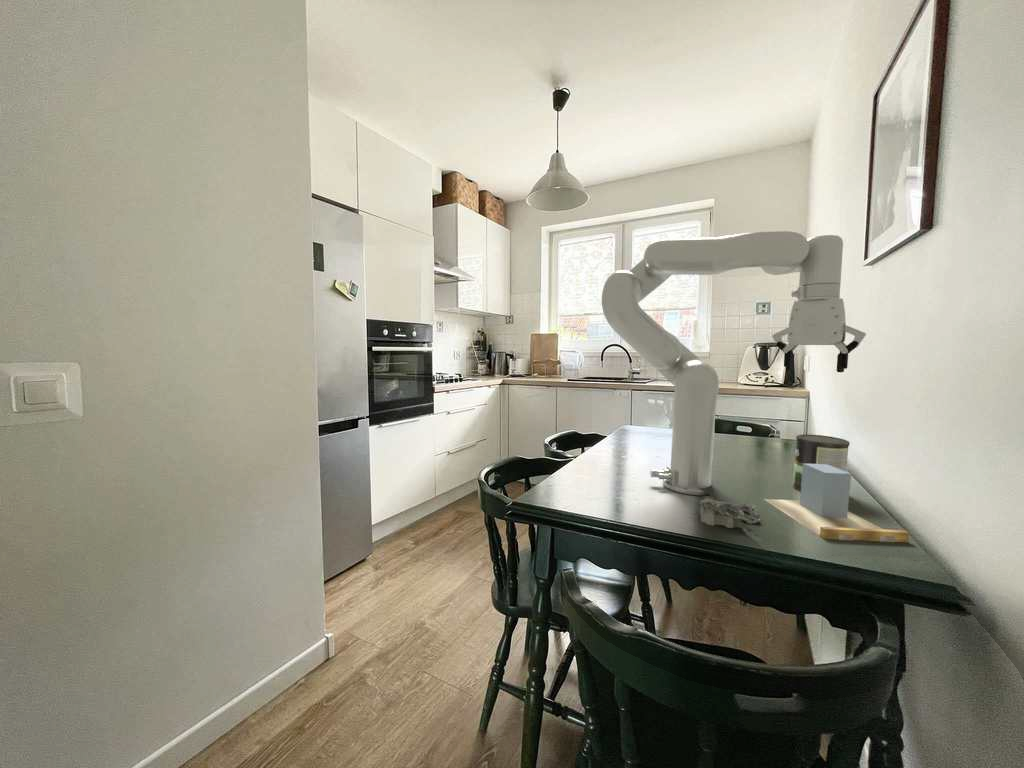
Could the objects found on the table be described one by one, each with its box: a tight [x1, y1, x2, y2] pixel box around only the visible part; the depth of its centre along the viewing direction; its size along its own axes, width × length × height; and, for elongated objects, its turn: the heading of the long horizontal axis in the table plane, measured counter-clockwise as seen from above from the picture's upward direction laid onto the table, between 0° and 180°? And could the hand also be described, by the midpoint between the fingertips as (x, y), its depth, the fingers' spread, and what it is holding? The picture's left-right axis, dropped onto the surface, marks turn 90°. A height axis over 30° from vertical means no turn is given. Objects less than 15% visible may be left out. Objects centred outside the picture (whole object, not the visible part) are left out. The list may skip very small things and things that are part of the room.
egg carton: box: [698, 498, 762, 532], centre depth 86 cm, size 11×8×4 cm
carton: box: [799, 463, 852, 518], centre depth 89 cm, size 5×7×9 cm
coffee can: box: [792, 433, 850, 493], centre depth 103 cm, size 10×10×14 cm
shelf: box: [763, 498, 910, 543], centre depth 86 cm, size 14×20×3 cm
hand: (814, 371), depth 97 cm, fingers open, 9 cm apart
